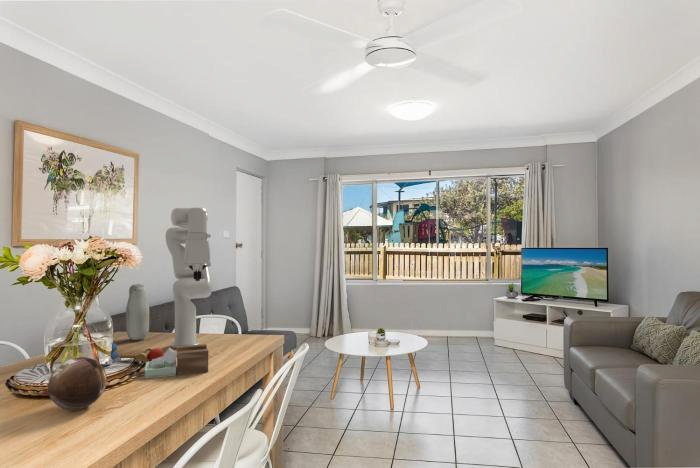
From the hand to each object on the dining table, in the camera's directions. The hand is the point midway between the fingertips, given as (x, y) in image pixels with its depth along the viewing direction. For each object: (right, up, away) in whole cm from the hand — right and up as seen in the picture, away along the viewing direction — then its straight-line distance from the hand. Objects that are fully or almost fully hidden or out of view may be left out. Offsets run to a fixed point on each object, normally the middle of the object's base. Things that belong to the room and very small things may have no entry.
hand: (197, 280), depth 186 cm
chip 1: (-7, -29, -17) cm, 35 cm away
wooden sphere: (-18, -33, -53) cm, 65 cm away
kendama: (-22, -34, -3) cm, 40 cm away
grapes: (-36, -33, -8) cm, 49 cm away
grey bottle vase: (-43, -34, +37) cm, 65 cm away
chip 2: (-3, -28, -16) cm, 33 cm away
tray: (-8, -33, -17) cm, 38 cm away
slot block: (+3, -33, -13) cm, 36 cm away
